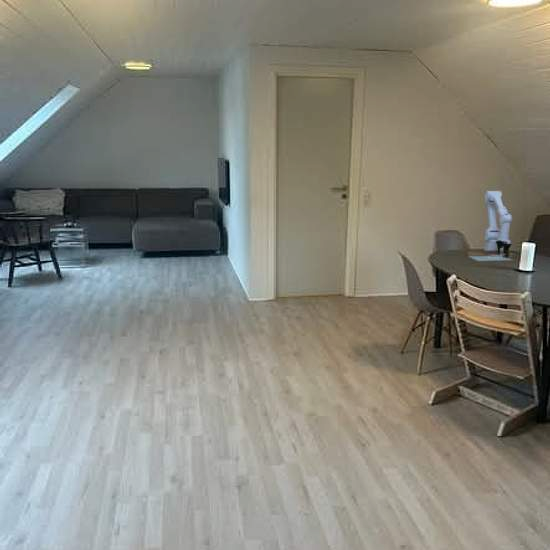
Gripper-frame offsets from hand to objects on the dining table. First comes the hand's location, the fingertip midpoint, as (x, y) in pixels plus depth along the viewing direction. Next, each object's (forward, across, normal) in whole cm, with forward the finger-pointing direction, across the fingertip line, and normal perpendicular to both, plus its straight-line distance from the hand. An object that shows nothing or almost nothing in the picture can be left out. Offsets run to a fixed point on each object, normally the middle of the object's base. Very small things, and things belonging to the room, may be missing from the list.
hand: (502, 252), depth 380 cm
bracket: (+3, 0, -4) cm, 5 cm away
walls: (+4, +2, -9) cm, 9 cm away
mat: (+4, +2, -9) cm, 9 cm away
